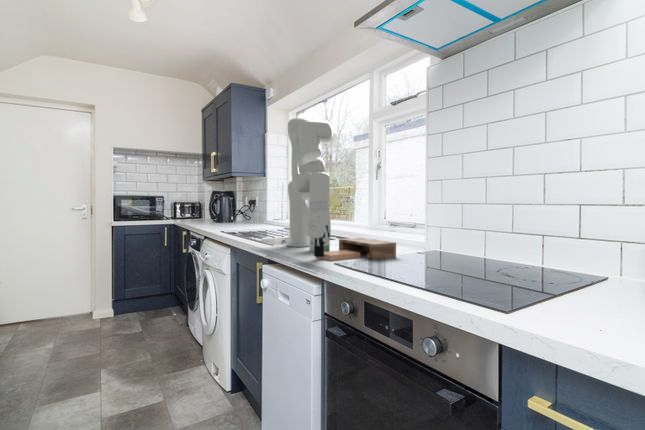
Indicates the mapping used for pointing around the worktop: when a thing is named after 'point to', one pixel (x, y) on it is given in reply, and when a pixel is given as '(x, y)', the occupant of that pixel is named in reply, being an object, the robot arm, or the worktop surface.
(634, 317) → the worktop surface
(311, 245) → the ink box
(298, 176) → the robot arm
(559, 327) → the worktop surface
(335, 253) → the tile
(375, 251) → the shelf
